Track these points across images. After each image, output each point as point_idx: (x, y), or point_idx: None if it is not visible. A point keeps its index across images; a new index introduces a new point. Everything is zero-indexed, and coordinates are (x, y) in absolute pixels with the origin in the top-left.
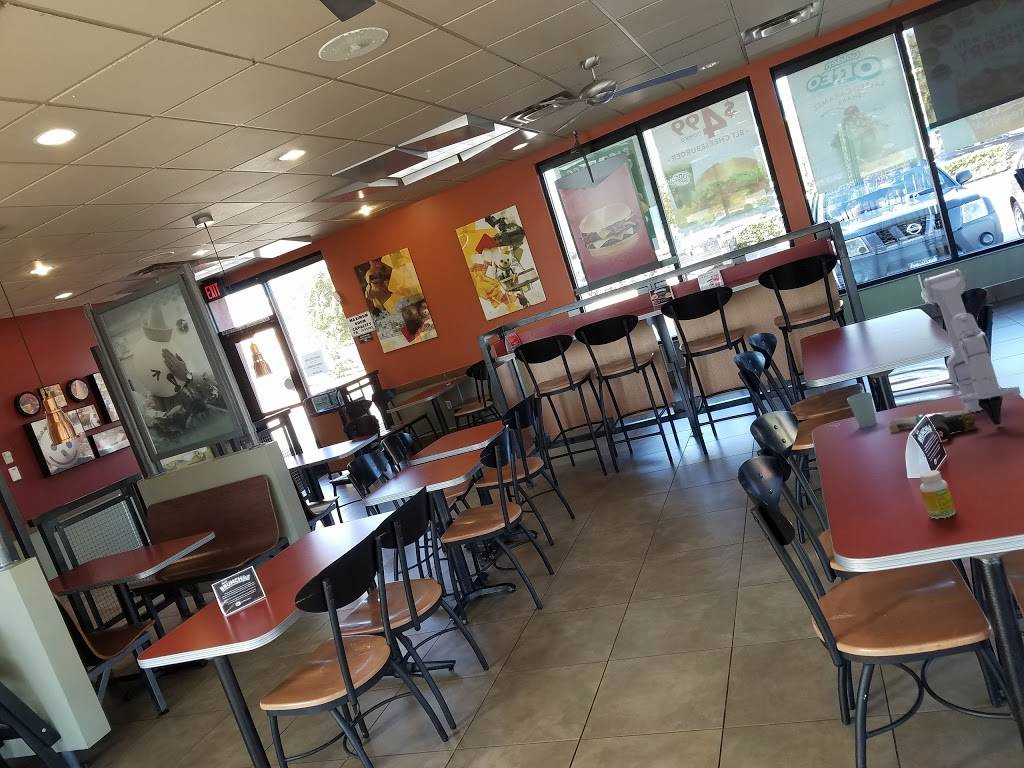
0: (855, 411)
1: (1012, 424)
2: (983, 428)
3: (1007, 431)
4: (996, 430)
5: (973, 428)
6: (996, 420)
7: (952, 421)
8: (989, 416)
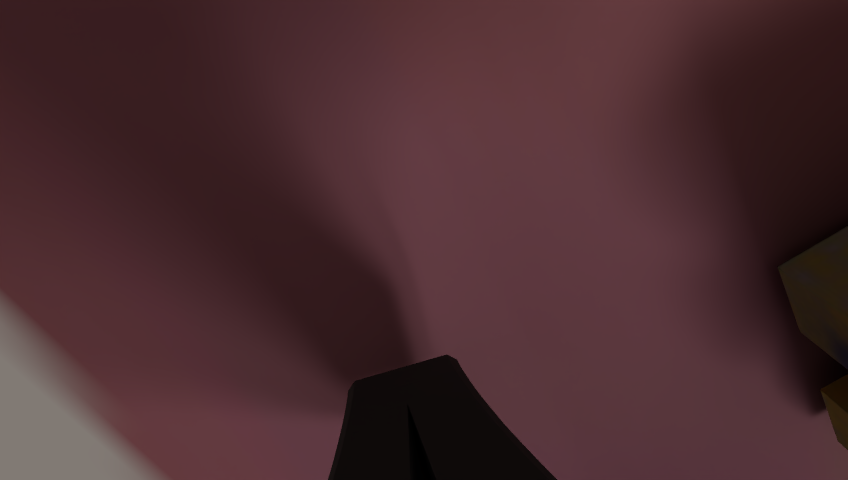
0: None
1: (205, 475)
2: (663, 329)
3: (6, 75)
4: (344, 187)
5: (831, 252)
6: (380, 421)
7: None
8: (541, 474)
